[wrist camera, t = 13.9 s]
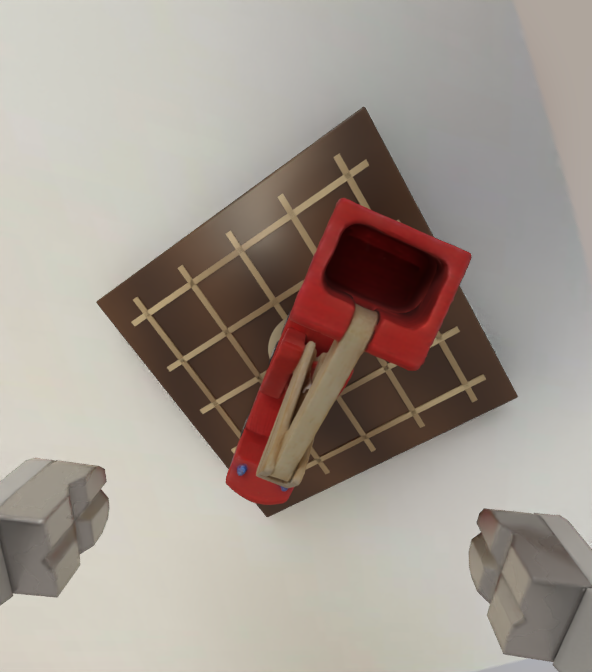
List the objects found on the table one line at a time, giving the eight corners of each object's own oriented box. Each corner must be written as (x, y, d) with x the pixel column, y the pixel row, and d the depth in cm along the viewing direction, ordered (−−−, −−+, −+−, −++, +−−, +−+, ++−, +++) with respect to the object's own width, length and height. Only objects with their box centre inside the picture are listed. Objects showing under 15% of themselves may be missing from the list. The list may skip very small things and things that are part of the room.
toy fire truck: (234, 445, 20) (162, 625, 11) (330, 208, 16) (341, 186, 7) (288, 465, 21) (262, 661, 11) (397, 237, 16) (493, 251, 7)
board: (360, 115, 17) (364, 103, 15) (504, 385, 20) (520, 399, 18) (111, 296, 20) (92, 302, 18) (270, 500, 23) (266, 520, 22)
